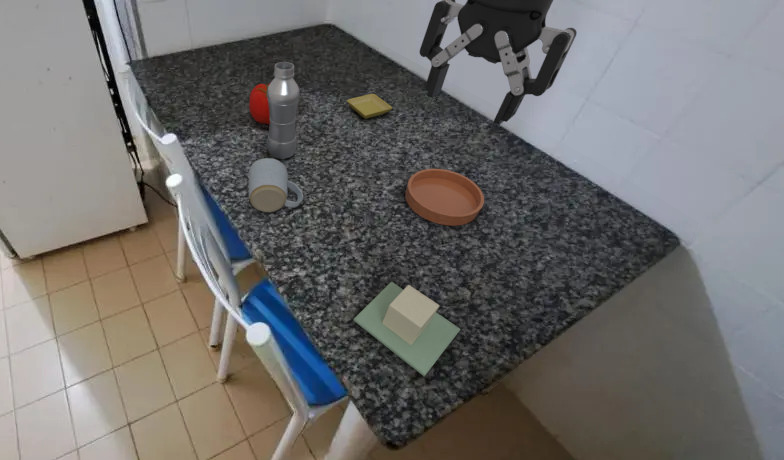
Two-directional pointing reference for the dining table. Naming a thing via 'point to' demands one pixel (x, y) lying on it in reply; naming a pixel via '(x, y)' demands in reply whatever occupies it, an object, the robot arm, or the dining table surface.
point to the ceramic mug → (271, 186)
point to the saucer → (369, 105)
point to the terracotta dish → (444, 197)
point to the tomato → (260, 104)
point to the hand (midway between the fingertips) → (464, 107)
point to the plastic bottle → (282, 111)
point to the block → (410, 314)
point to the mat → (416, 354)
